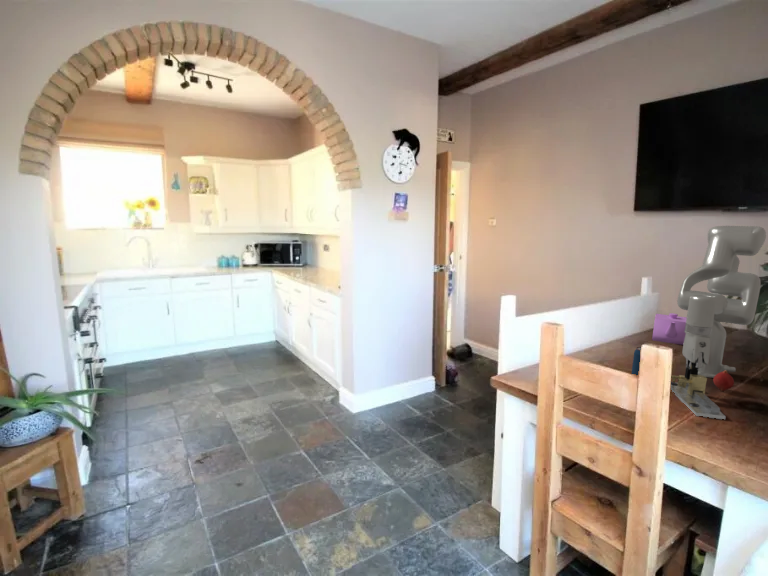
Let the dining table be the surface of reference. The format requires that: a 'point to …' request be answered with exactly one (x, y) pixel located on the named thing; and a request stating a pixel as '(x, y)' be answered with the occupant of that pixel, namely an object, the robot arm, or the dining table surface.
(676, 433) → the dining table surface
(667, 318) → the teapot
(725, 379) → the onion
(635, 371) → the soda can
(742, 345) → the dining table surface
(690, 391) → the sliding jaw
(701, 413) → the board
